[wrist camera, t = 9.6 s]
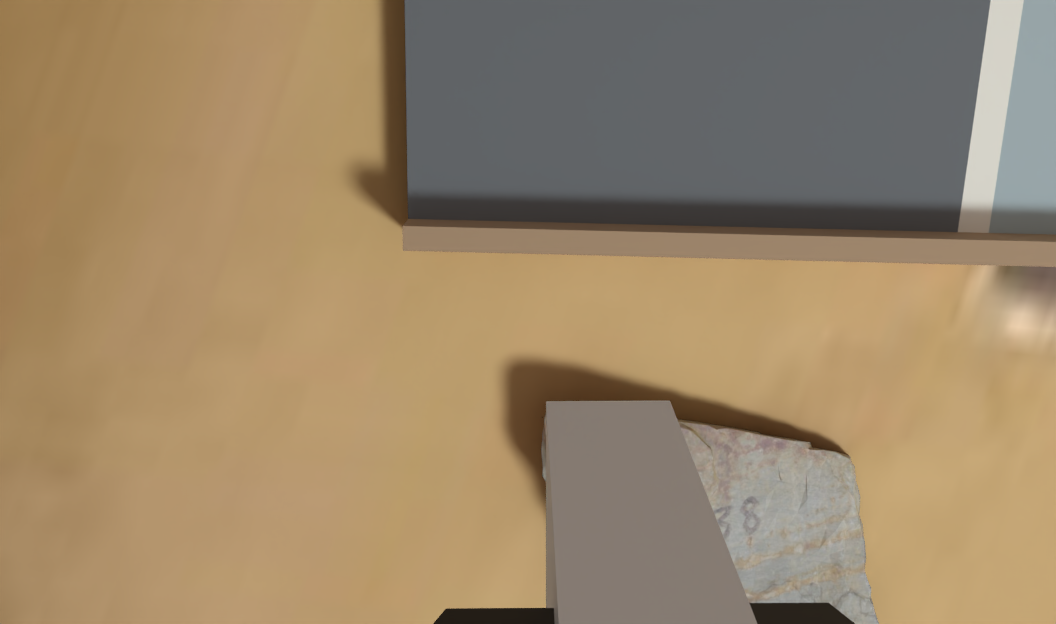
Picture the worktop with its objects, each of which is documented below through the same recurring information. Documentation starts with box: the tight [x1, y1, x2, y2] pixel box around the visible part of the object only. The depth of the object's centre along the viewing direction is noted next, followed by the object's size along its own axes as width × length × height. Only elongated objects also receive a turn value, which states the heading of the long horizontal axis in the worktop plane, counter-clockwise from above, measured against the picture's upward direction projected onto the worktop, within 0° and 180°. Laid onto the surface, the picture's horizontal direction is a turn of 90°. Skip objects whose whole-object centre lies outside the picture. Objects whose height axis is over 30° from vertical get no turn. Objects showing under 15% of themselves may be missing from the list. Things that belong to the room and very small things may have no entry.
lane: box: [403, 0, 1056, 267], centre depth 30 cm, size 32×11×4 cm, turn 89°
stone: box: [541, 414, 879, 624], centre depth 36 cm, size 15×11×3 cm
